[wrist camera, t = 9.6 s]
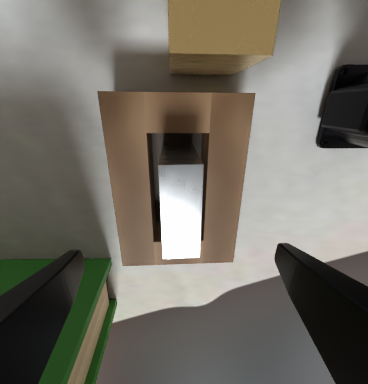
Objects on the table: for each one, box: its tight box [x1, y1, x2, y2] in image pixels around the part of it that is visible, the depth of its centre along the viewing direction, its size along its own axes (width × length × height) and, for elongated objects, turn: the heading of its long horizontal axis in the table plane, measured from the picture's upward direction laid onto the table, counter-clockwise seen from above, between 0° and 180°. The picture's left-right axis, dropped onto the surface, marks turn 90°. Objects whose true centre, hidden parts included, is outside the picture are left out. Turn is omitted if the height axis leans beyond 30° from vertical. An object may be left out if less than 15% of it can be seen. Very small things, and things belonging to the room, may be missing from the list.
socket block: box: [97, 91, 255, 266], centre depth 17 cm, size 10×14×4 cm
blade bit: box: [158, 143, 204, 259], centre depth 16 cm, size 2×6×7 cm, turn 0°
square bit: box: [168, 0, 281, 75], centre depth 12 cm, size 5×5×7 cm
